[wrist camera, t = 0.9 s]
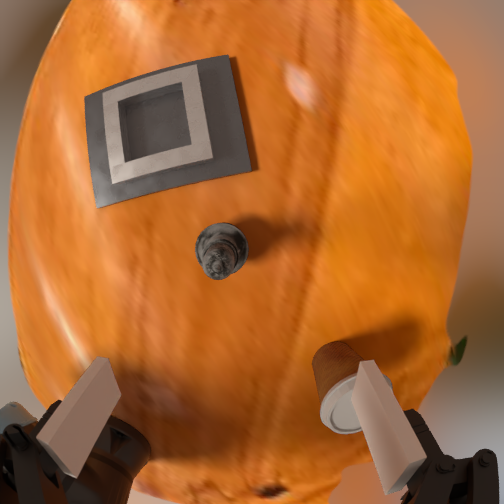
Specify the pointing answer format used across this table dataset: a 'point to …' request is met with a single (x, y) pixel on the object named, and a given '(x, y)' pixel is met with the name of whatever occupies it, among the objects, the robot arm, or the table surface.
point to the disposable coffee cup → (338, 386)
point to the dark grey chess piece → (221, 250)
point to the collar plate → (165, 131)
